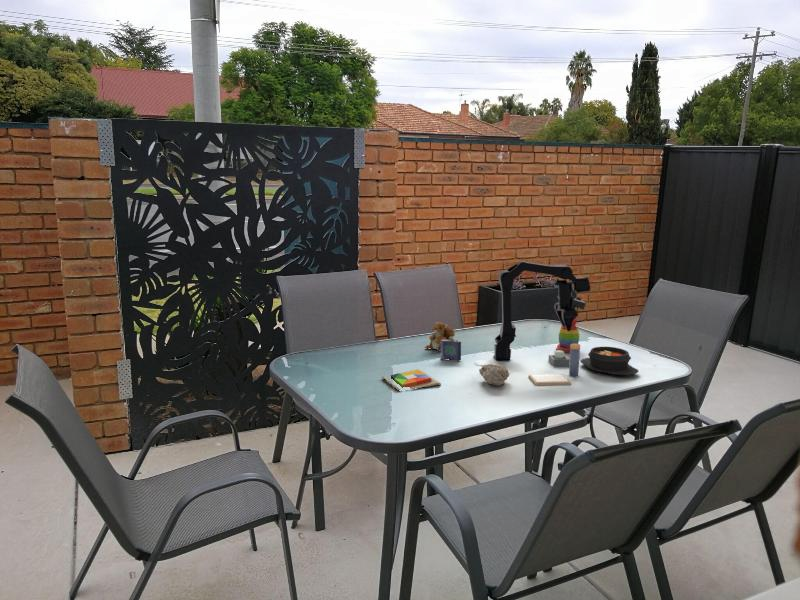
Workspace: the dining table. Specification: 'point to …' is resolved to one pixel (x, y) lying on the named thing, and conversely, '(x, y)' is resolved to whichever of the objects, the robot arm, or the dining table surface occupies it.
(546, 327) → the dining table surface
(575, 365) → the toy microphone
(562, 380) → the sketch pad
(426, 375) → the wooden puzzle
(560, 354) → the button
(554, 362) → the gray square hollow block
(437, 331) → the stuffed squirrel
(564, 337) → the stacking bear
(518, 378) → the dining table surface
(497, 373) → the pumice stone
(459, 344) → the dark blue box
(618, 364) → the casserole
